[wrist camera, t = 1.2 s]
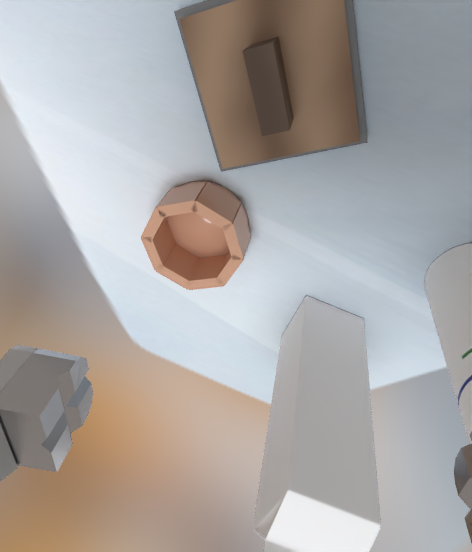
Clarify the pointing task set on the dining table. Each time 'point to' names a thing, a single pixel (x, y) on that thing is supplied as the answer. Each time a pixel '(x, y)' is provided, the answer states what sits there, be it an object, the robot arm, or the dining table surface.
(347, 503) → the milk
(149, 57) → the dining table surface
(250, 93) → the lid
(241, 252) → the bowl
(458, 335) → the cylindrical container
